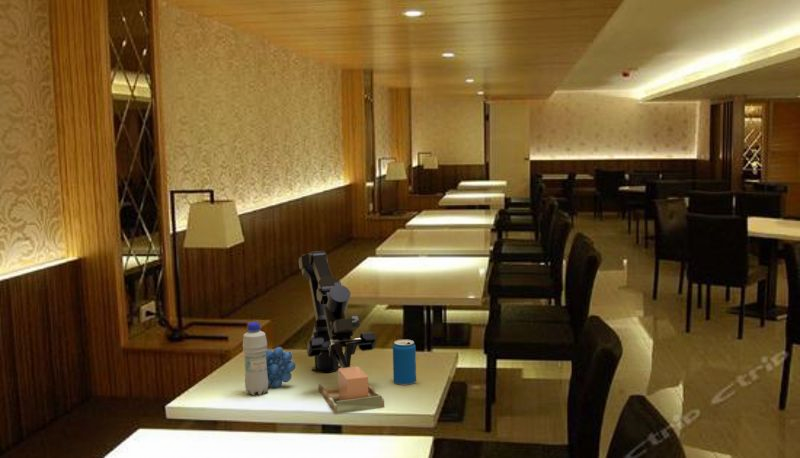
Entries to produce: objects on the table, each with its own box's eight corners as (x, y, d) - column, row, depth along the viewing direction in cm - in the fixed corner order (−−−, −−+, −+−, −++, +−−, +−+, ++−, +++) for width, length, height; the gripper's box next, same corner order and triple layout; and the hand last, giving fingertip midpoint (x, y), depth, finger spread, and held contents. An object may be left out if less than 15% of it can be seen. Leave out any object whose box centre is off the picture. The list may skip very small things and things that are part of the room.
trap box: (318, 391, 210) (318, 378, 210) (363, 385, 214) (363, 373, 214) (335, 415, 191) (334, 402, 191) (384, 408, 195) (384, 395, 195)
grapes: (299, 383, 217) (297, 342, 216) (294, 391, 210) (293, 349, 209) (258, 383, 218) (257, 343, 216) (253, 391, 211) (251, 349, 210)
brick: (338, 397, 203) (337, 368, 202) (358, 394, 205) (357, 366, 204) (348, 409, 193) (347, 379, 193) (368, 407, 195) (367, 376, 194)
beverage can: (414, 387, 211) (413, 345, 210) (391, 386, 213) (390, 344, 211) (418, 380, 218) (417, 339, 216) (396, 379, 219) (395, 338, 218)
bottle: (249, 398, 205) (245, 326, 203) (241, 391, 211) (238, 321, 209) (272, 393, 209) (269, 322, 206) (264, 387, 214) (261, 318, 212)
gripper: (307, 309, 204) (317, 360, 194) (373, 303, 209) (386, 352, 200) (302, 331, 212) (312, 381, 203) (367, 324, 218) (379, 372, 208)
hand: (347, 371), depth 203 cm, fingers closed
